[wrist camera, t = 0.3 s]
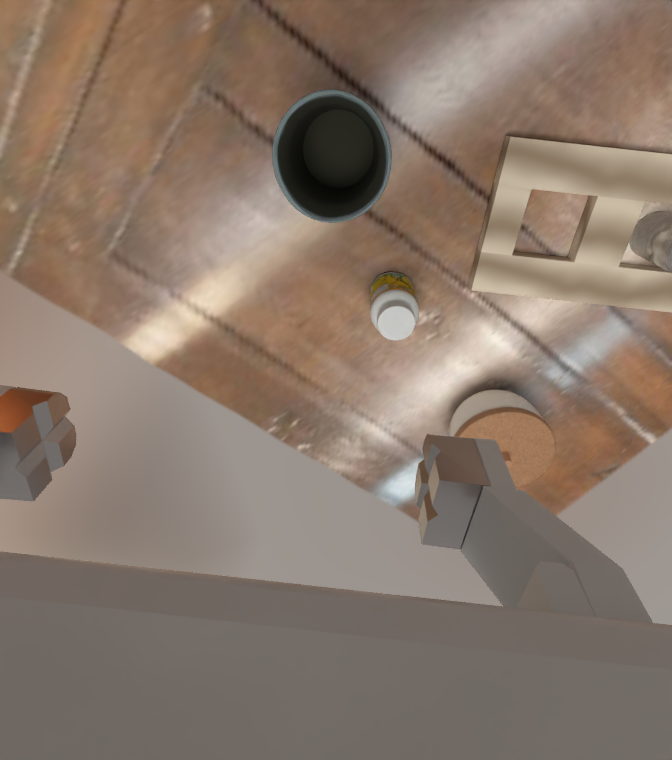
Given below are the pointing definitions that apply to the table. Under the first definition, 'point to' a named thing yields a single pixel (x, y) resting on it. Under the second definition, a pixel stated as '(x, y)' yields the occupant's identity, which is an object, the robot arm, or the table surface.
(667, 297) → the pin board
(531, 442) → the lidded bowl
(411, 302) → the supplement bottle
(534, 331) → the table surface
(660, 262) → the steel pin
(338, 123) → the blue-grey cup
